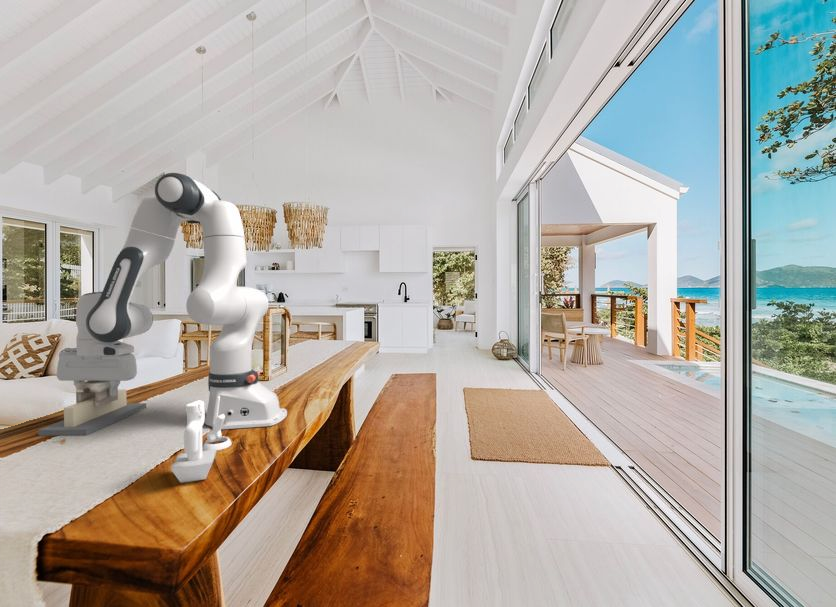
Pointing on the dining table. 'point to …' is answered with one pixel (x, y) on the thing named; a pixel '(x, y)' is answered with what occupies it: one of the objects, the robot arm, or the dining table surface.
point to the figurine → (193, 448)
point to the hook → (216, 436)
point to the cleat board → (92, 422)
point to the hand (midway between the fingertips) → (97, 395)
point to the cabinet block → (95, 392)
